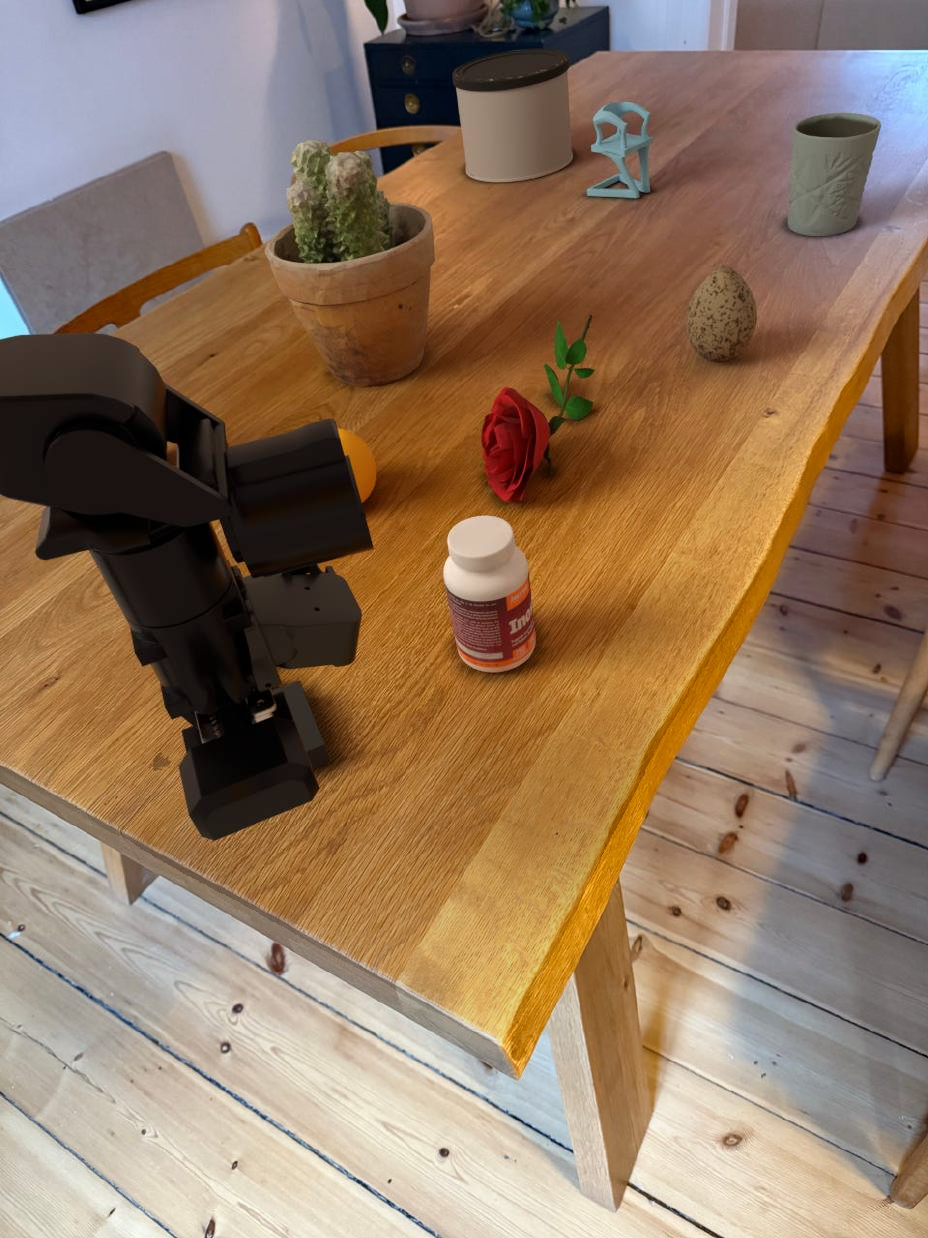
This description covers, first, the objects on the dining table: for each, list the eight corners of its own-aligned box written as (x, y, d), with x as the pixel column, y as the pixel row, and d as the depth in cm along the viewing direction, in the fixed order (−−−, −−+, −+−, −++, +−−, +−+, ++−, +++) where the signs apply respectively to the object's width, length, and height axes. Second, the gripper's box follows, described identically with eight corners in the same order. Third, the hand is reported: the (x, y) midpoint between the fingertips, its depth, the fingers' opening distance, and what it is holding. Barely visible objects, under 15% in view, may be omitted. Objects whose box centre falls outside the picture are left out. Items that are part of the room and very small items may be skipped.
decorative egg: (754, 373, 93) (762, 280, 87) (684, 375, 95) (687, 283, 88) (752, 340, 98) (760, 250, 92) (685, 342, 100) (688, 254, 93)
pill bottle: (530, 678, 67) (516, 566, 59) (450, 673, 68) (426, 563, 61) (542, 620, 71) (530, 509, 63) (466, 617, 72) (446, 508, 65)
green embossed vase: (776, 214, 123) (785, 118, 114) (852, 204, 121) (867, 106, 113) (792, 242, 115) (804, 141, 107) (874, 232, 114) (892, 130, 106)
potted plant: (272, 376, 108) (202, 155, 91) (385, 314, 116) (340, 101, 99) (369, 419, 97) (311, 178, 80) (485, 348, 106) (455, 116, 89)
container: (525, 188, 144) (516, 83, 134) (442, 175, 155) (428, 77, 144) (596, 150, 153) (592, 49, 143) (513, 140, 163) (504, 45, 153)
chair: (627, 204, 133) (626, 115, 125) (585, 195, 138) (582, 109, 130) (660, 186, 136) (661, 99, 128) (618, 178, 141) (617, 94, 133)
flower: (560, 257, 94) (475, 432, 76) (640, 297, 94) (575, 480, 76) (529, 325, 101) (445, 500, 83) (604, 362, 101) (537, 543, 83)
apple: (292, 526, 85) (270, 460, 80) (313, 478, 91) (294, 413, 85) (373, 524, 83) (356, 456, 78) (390, 475, 89) (374, 409, 84)
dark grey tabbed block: (222, 806, 62) (213, 789, 61) (199, 711, 69) (190, 694, 68) (331, 761, 63) (324, 744, 62) (297, 673, 70) (290, 656, 69)
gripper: (382, 646, 40) (436, 838, 51) (285, 453, 53) (344, 637, 64) (139, 739, 38) (248, 919, 49) (100, 514, 51) (192, 695, 62)
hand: (264, 774), depth 56 cm, fingers closed
